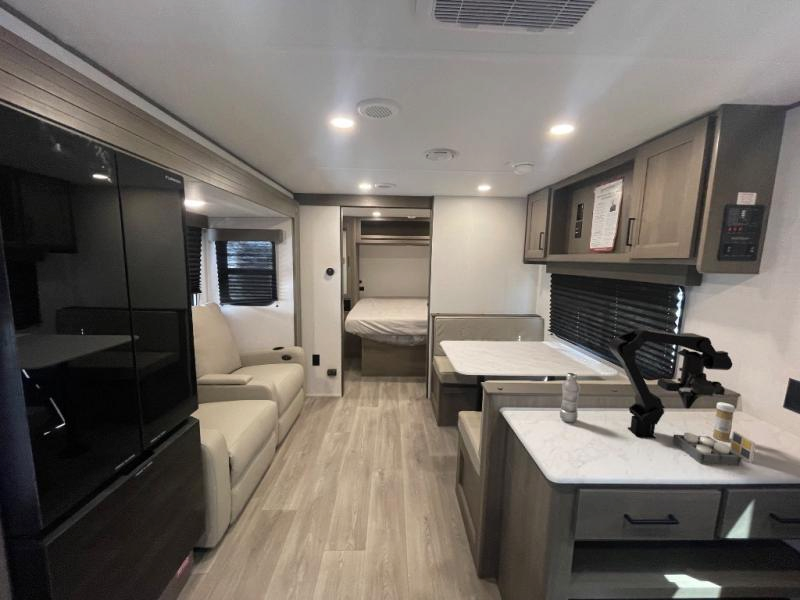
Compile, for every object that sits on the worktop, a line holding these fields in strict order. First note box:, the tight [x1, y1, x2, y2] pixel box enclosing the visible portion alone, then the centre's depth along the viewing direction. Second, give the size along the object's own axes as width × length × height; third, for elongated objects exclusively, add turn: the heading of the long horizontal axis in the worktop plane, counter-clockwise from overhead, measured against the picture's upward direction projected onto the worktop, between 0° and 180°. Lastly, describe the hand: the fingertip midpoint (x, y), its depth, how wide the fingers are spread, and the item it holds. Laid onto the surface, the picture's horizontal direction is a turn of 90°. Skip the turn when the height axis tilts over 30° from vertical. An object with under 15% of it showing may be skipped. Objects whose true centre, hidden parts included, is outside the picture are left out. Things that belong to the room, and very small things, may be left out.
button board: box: [672, 434, 742, 467], centre depth 107 cm, size 12×12×3 cm
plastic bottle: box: [559, 372, 581, 423], centre depth 127 cm, size 6×7×20 cm
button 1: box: [683, 432, 699, 444], centre depth 109 cm, size 4×4×2 cm
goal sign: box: [729, 431, 757, 464], centre depth 105 cm, size 1×7×7 cm, turn 174°
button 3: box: [700, 436, 715, 445], centre depth 109 cm, size 4×4×2 cm
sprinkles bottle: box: [712, 401, 735, 442], centre depth 115 cm, size 5×5×14 cm
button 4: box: [713, 441, 731, 455], centre depth 103 cm, size 4×4×2 cm
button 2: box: [696, 445, 711, 453], centre depth 104 cm, size 4×4×2 cm
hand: (686, 408), depth 116 cm, fingers closed
